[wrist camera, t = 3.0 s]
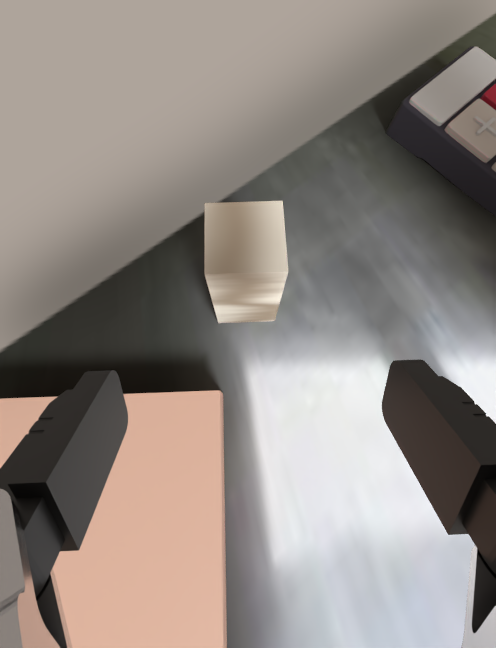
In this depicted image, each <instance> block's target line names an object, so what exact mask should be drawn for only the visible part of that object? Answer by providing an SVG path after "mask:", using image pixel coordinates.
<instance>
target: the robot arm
mask: <svg viewBox="0 0 496 648" xmlns="http://www.w3.org/2000/svg"><path fill="white" fill-rule="evenodd" d="M382 412H383V416H384V420H385V422H386V424H387V426H388V428H389V429H390V431H391V433H392V435H393V437H394V438H395V440H396V442H397V444H398V445H399V447H400V449H401V451H402V453H403V454H404V456H405V458H406V460H407V462H408V463H409V465H410V467H411V469H412V471H413V472H414V474H415V476H416V478H417V479H418V481H419V483H420V485H421V487H422V488H423V490H424V492H425V494H426V496H427V497H428V499H429V501H430V503H431V505H432V506H433V508H434V510H435V512H436V513H437V515H438V517H439V519H440V521H441V522H442V524H443V526H444V528H445V530H446V531H447V533H448V535H453V534H469V535H470V537H471V539H472V540H473V542H474V544H475V545H474V547H473V549H472V552H471V560H470V571H469V582H468V594H467V605H466V616H465V627H464V636H463V642H462V647H461V648H496V424H495V422H494V421H493V420H492V419H491V418H490V417H486V413H485V412H484V411H483V410H482V409H481V408H480V407H479V406H478V405H477V404H476V405H475V404H474V401H473V400H472V399H471V398H470V397H469V396H468V395H467V393H466V392H465V391H464V390H463V389H462V388H461V387H459V386H457V385H456V384H454V383H452V382H451V381H449V380H448V379H446V378H444V377H443V376H438V375H437V374H436V373H435V372H434V371H433V370H432V369H431V368H430V367H429V366H428V364H427V363H426V362H425V361H423V360H397V361H393V362H392V364H391V366H390V369H389V374H388V378H387V383H386V387H385V391H384V396H383V401H382ZM127 426H128V411H127V407H126V403H125V399H124V395H123V391H122V388H121V384H120V380H119V376H118V374H117V372H116V371H114V370H108V371H87V372H85V373H84V374H83V376H82V377H81V379H80V380H79V381H78V383H77V384H76V386H75V387H74V389H73V390H66V391H65V392H63V393H62V394H61V395H59V396H58V397H57V398H55V399H54V400H53V401H51V402H50V403H49V404H48V406H47V407H46V408H45V410H44V411H43V412H42V414H41V415H40V416H39V418H38V421H36V422H35V423H34V424H33V426H32V427H31V428H30V430H29V433H28V434H26V435H25V436H24V438H23V439H22V440H21V442H20V443H19V444H18V446H17V447H16V448H15V450H14V451H13V452H12V454H11V455H10V456H9V458H8V459H7V460H6V462H5V463H4V464H3V466H2V467H1V468H0V648H72V644H71V639H70V635H69V631H68V627H67V623H66V619H65V614H64V610H63V606H62V602H61V598H60V594H59V590H58V585H57V581H56V577H55V573H54V571H53V569H52V568H53V566H54V564H55V561H56V559H57V557H58V555H59V552H60V551H79V549H80V547H81V544H82V542H83V539H84V537H85V534H86V532H87V529H88V527H89V524H90V522H91V519H92V517H93V514H94V512H95V509H96V507H97V504H98V502H99V499H100V496H101V494H102V491H103V489H104V486H105V484H106V481H107V479H108V476H109V474H110V471H111V469H112V466H113V464H114V461H115V459H116V456H117V454H118V451H119V449H120V446H121V444H122V441H123V438H124V436H125V433H126V430H127Z"/></svg>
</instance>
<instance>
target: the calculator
mask: <svg viewBox="0 0 496 648" xmlns="http://www.w3.org/2000/svg"><path fill="white" fill-rule="evenodd" d="M386 134H387V135H389V136H390V137H391V138H392V139H394V140H395V141H396V142H398V143H399V144H400V145H402V146H403V147H404V148H406V149H407V150H408V151H410V152H411V153H412V154H414V155H415V156H416V157H419V158H423V159H424V160H425V161H426V162H427V163H429V164H430V165H431V166H432V167H434V168H435V169H436V170H437V171H438V172H440V173H441V174H442V175H443V176H444V177H446V178H447V179H448V180H449V181H450V182H452V183H453V184H454V185H455V186H457V187H458V188H459V189H460V190H462V191H463V192H464V193H466V194H467V195H468V196H470V197H471V198H472V199H474V200H475V201H476V202H477V203H479V204H480V205H481V206H483V207H484V208H485V209H487V210H488V211H489V212H491V213H492V214H493V215H495V216H496V60H495V59H494V58H492V57H491V56H489V55H488V54H487V53H485V52H484V51H483V50H481V49H480V48H478V47H469V48H468V49H467V50H465V51H464V52H463V53H462V54H460V55H459V56H458V57H457V58H455V59H454V60H453V61H451V62H450V63H449V64H448V65H446V66H445V67H444V68H443V69H441V70H440V71H439V72H438V73H436V74H435V75H434V76H433V77H431V78H430V79H429V80H427V81H426V82H425V83H424V84H422V85H421V86H420V87H419V88H417V89H416V90H415V91H414V92H412V93H411V94H410V95H409V96H407V97H406V98H405V99H404V100H403V101H402V102H401V104H400V106H399V108H398V109H397V111H396V113H395V115H394V117H393V119H392V120H391V122H390V124H389V126H388V128H387V130H386Z"/></svg>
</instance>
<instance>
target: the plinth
mask: <svg viewBox="0 0 496 648" xmlns="http://www.w3.org/2000/svg"><path fill="white" fill-rule="evenodd" d="M123 395H124V399H125V403H126V407H127V411H128V426H127V430H126V433H125V436H124V438H123V441H122V444H121V446H120V449H119V451H118V454H117V456H116V459H115V461H114V464H113V466H112V469H111V471H110V474H109V476H108V479H107V481H106V484H105V486H104V489H103V491H102V494H101V496H100V499H99V502H98V504H97V507H96V509H95V512H94V514H93V517H92V519H91V522H90V524H89V527H88V529H87V532H86V534H85V537H84V539H83V542H82V544H81V547H80V549H79V551H60V552H59V555H58V557H57V559H56V561H55V564H54V566H53V568H52V569H53V571H54V573H55V577H56V581H57V585H58V590H59V594H60V598H61V602H62V606H63V610H64V614H65V619H66V623H67V627H68V631H69V635H70V639H71V644H72V648H227V619H226V554H225V488H224V422H223V393H222V392H221V391H220V390H215V391H189V392H163V393H137V394H123ZM55 398H57V397H33V398H7V399H0V468H1V467H2V466H3V464H4V463H5V462H6V460H7V459H8V458H9V456H10V455H11V454H12V452H13V451H14V450H15V448H16V447H17V446H18V444H19V443H20V442H21V440H22V439H23V438H24V436H25V435H26V434H28V433H29V430H30V428H31V427H32V426H33V424H34V423H35V422H36V421H38V418H39V416H40V415H41V414H42V412H43V411H44V410H45V408H46V407H47V406H48V404H49V403H50V402H51V401H53V400H54V399H55Z"/></svg>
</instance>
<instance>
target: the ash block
mask: <svg viewBox="0 0 496 648" xmlns="http://www.w3.org/2000/svg"><path fill="white" fill-rule="evenodd" d="M287 275H288V261H287V249H286V237H285V224H284V212H283V201H262V202H228V203H205V278H206V281H207V285H208V288H209V292H210V295H211V299H212V302H213V306H214V309H215V313H216V317H217V320H218V323H233V322H261V321H275V318H276V314H277V311H278V307H279V303H280V300H281V296H282V293H283V289H284V285H285V282H286V278H287Z"/></svg>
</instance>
